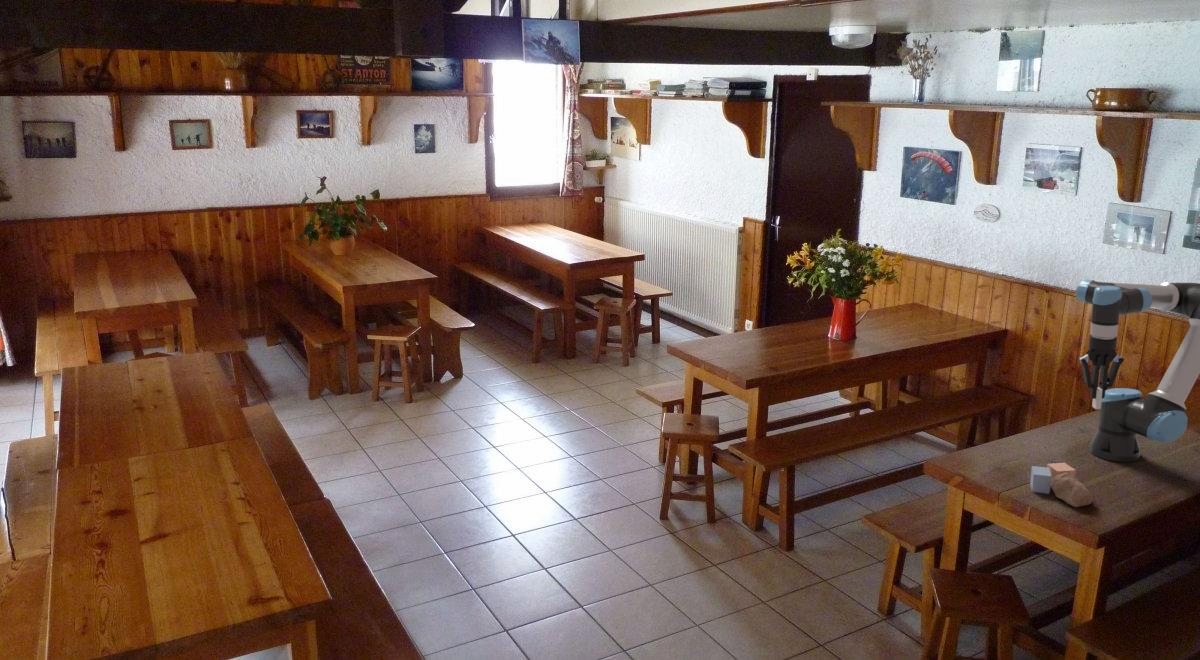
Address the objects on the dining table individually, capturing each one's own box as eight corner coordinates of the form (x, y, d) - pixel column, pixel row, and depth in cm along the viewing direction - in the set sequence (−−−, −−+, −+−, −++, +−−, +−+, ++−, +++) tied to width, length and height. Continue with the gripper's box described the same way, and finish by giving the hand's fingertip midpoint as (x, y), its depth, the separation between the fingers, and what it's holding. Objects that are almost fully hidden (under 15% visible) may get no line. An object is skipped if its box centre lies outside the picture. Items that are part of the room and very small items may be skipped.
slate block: (1047, 485, 297) (1049, 467, 296) (1049, 493, 291) (1051, 476, 290) (1030, 483, 299) (1031, 465, 298) (1032, 492, 293) (1033, 474, 291)
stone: (1049, 498, 293) (1042, 477, 288) (1072, 481, 294) (1065, 460, 289) (1080, 519, 282) (1073, 498, 277) (1103, 502, 283) (1097, 480, 278)
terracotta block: (1062, 479, 301) (1064, 462, 299) (1073, 487, 295) (1075, 470, 294) (1045, 481, 300) (1046, 463, 299) (1055, 488, 295) (1057, 471, 293)
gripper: (1120, 332, 289) (1112, 403, 296) (1076, 333, 291) (1070, 404, 297) (1131, 339, 282) (1123, 411, 288) (1086, 339, 284) (1079, 412, 290)
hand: (1096, 407), depth 293 cm, fingers closed
